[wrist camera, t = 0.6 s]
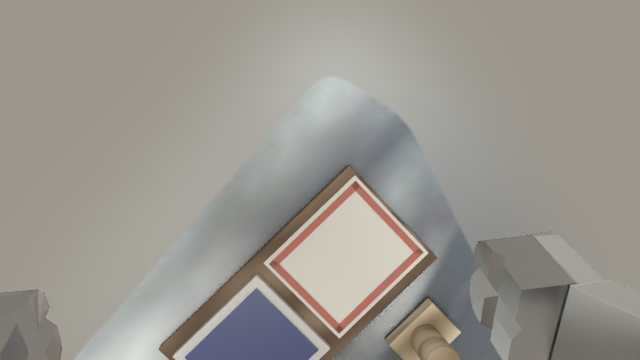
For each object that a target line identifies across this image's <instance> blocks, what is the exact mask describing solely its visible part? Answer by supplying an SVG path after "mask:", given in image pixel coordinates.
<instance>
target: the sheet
mask: <svg viewBox="0 0 640 360" xmlns="http://www.w3.org/2000/svg"><path fill="white" fill-rule="evenodd" d="M427 254H428V252H427V251H426V250H425V248H424V247H423V246H422V245H421V244H420V243H419V242H418V241H417V240H416V239H415V238H414V237H413V236H412V235H411V234H410V233H409V232H408V231H407V229H406V228H405V227H404V226H403V225H402V224H401V223H400V222H399V221H398V220H397V219H396V218H395V217H394V216H393V215H392V214H391V213H390V212H389V210H388V209H387V208H386V207H385V206H384V205H383V204H382V203H381V202H380V201H379V200H378V199H377V198H376V197H375V196H374V195H373V194H372V193H371V191H370V190H369V189H368V188H367V187H366V186H365V185H364V184H363V183H362V182H361V181H360V180H359V179H358V178H357V177H356V176H353V177H352V178H351V179H350V180H349V181H348V182H347V183H346V184H345V185H344V186H343V187H342V188H341V189H340V190H339V191H338V192H337V193H336V194H335V195H334V196H333V197H332V198H331V199H330V200H329V201H327V202H326V203H325V204H324V205H323V206H322V207H321V208H320V209H319V210H318V211H317V212H316V213H315V214H314V215H313V216H312V217H311V218H310V219H309V220H308V221H307V222H306V223H305V224H304V225H303V226H301V227H300V228H299V229H298V230H297V231H296V232H295V233H294V234H293V235H292V236H291V237H290V238H289V239H288V240H287V241H286V242H285V243H284V244H283V245H282V246H281V247H280V248H279V249H278V250H276V251H275V252H274V253H273V254H272V255H271V256H270V257H269V258H268V259H267V260H266V261H265V262H264V264H265V265H266V266H267V267H268V268H269V269H270V270H271V271H272V272H273V273H274V274H275V275H276V276H277V277H278V278H279V279H280V280H281V281H282V282H283V283H284V284H285V285H286V286H287V287H288V288H289V289H290V290H291V291H292V292H293V293H294V294H295V295H296V296H297V297H298V298H299V299H300V300H301V301H302V302H303V303H304V304H305V305H306V306H307V307H308V308H309V309H310V310H311V311H312V312H313V313H314V314H315V315H316V316H317V317H318V318H319V319H320V320H321V321H322V322H323V323H324V324H325V325H326V326H327V327H328V328H329V329H330V330H331V331H332V332H333V333H334V334H335V335H336V336H337V337H338V338H339V339H340V338H341V337H342V336H343V335H344V334H345V333H346V332H347V331H348V330H349V329H350V328H351V327H352V326H353V325H354V324H355V323H356V322H357V321H358V320H359V319H360V318H361V317H362V316H364V315H365V314H366V313H367V312H368V311H369V310H370V309H371V308H372V307H373V306H374V305H375V304H376V303H377V302H378V301H379V300H380V299H381V298H382V297H383V296H384V295H385V294H386V293H387V292H388V291H390V290H391V289H392V288H393V287H394V286H395V285H396V284H397V283H398V282H399V281H400V280H401V279H402V278H403V277H404V276H405V275H406V274H407V273H408V272H409V271H410V270H411V269H412V268H413V267H414V266H416V265H417V264H418V263H419V262H420V261H421V260H422V259H423V258H424V257H425V256H426V255H427Z"/></svg>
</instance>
